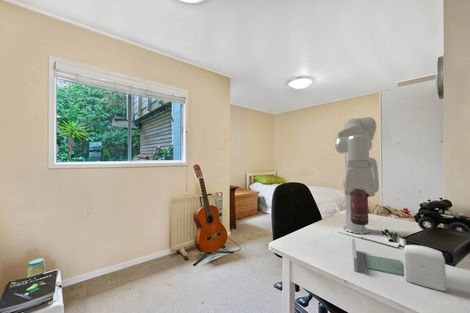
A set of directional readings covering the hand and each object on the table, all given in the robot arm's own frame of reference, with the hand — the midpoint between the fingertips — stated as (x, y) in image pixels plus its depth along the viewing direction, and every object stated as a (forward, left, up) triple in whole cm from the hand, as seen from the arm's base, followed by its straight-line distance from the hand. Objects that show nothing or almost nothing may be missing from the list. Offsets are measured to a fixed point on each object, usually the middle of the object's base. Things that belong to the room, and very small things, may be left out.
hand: (359, 209), depth 85 cm
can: (0, 0, -6) cm, 6 cm away
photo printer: (+9, +17, -21) cm, 29 cm away
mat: (0, +8, -21) cm, 22 cm away
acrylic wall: (0, -2, -21) cm, 21 cm away
